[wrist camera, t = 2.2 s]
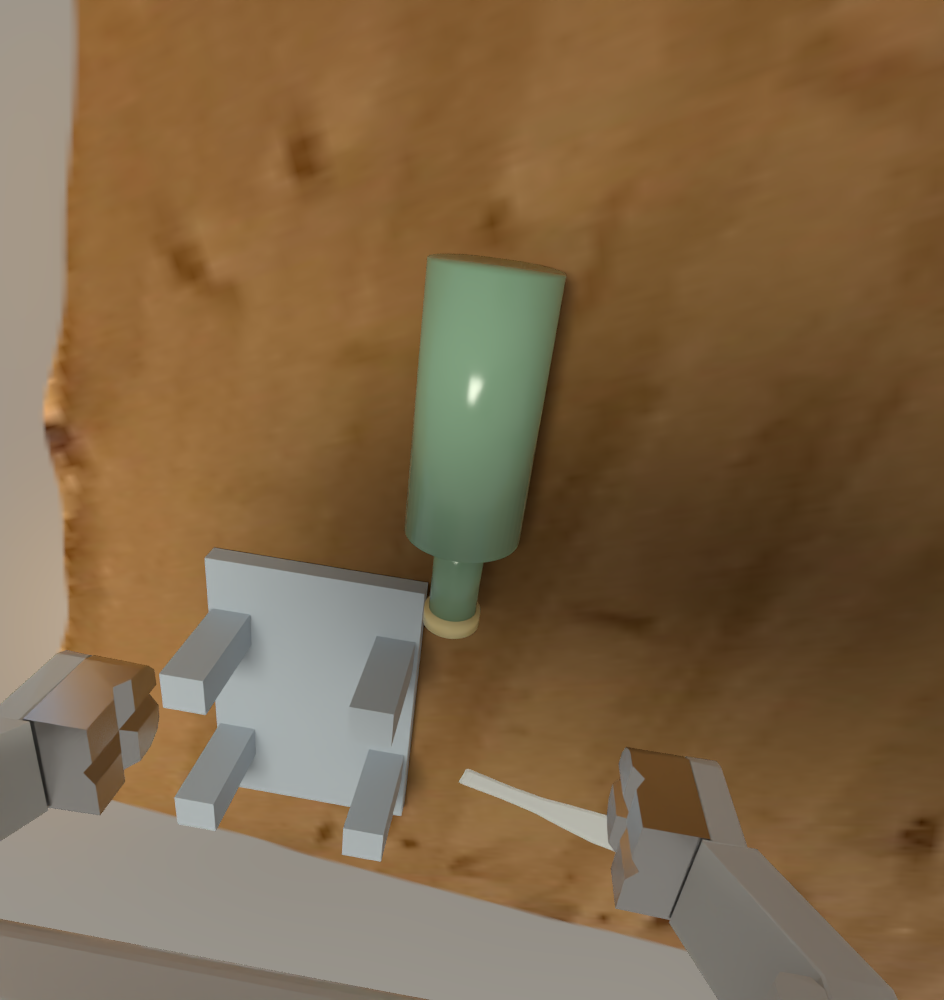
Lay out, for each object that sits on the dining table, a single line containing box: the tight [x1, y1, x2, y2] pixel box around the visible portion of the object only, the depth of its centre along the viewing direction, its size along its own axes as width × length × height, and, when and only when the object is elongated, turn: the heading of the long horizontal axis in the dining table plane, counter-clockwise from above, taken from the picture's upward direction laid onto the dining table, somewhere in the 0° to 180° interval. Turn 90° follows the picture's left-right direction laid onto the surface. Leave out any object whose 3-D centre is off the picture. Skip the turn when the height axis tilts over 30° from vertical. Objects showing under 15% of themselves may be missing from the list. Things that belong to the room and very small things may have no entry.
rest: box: [159, 548, 428, 862], centre depth 33 cm, size 16×11×6 cm
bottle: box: [405, 254, 566, 639], centre depth 27 cm, size 16×5×5 cm, turn 173°
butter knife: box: [459, 769, 614, 851], centre depth 38 cm, size 1×24×3 cm
